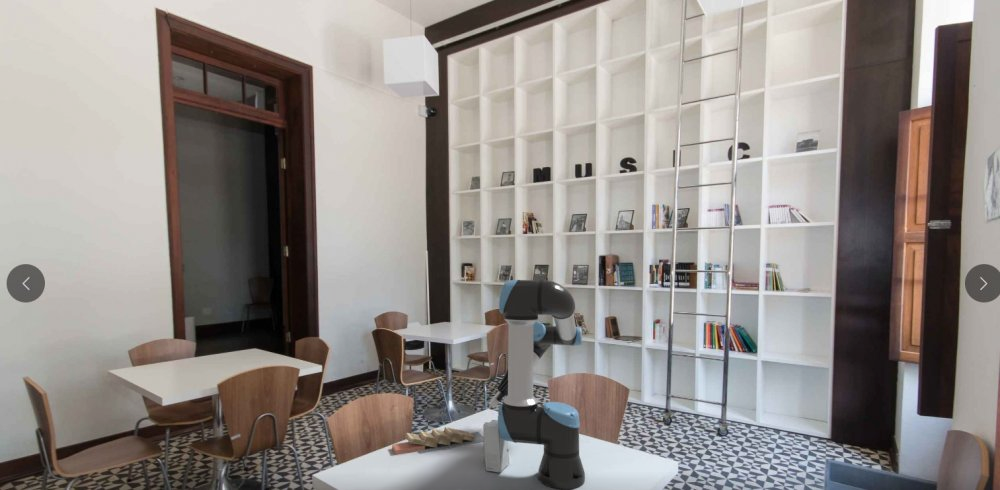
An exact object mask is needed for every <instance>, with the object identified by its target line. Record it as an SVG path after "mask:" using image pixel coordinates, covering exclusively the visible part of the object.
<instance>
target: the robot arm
mask: <svg viewBox="0 0 1000 490" xmlns="http://www.w3.org/2000/svg"><path fill="white" fill-rule="evenodd" d="M498 308H499V313H500V314H502V315H504V317H503V319H504V321H505V323H507V325H508V338H507V340H508V347H507V348H508V349H507V351H508V354H507V356H508V357H507V359H508V360H507V363H508V365H507V366H508V367H507V370H506V371H505V374H504V375H503V378H502V379H501V381H500V383H499V384H498V385H497V387H496V389H497V392H496V394H495V395H494V396H493V397H492V398H491V400H490V401H489V402H488V405H489V406H490V407H491V408H492V409H495V408H496V407H497V406H498V405H499V403H500V402H501V401H502V400H503V402H502V403H500V405H499V406H498V410H497V420H498V427H499V432H500V435H501V437H502V438H503V439H504V440H505V441H508V442H511V443H515V444H519V443H520V444H521V443H522V444H530V445H542V446H543V454H542V458H541V461H540V463H539V466H538V473H537V474H538V475H537V476H538V477H537V478H538V480H539V481H540V483H542V484H543V485H545V486H547V487H550V488H553V489H559V490H571V489H576V488H579V487H581V486H583V484H584V483H585V480H586V474H585V468H584V465H583V463H582V459H581V456H580V427H581V424H580V414H579V411H578V410H577V409H576V408H575V407H574V406H571V405H570V404H567V403H564V402H559V401H558V402H557V401H548V402H545V403H544V404H543V406H539V405H538V403H539V402H538V399H537V398H536V397H535V396H534V367H535V366H536V364H537V363H538V362H539V360H540V359H541V358H542V357H543V356H544V354H545V353H546V352H547V350H548V349H549V348H550V347H551V346H552V345H554V346H555V345H556V346H571V347H574V346H581V345H582V342H583V330H582V327H580V326H577V325H576V321H575V315H574V314H575V310H576V302H575V299H574V296H573V295H572V293H571V292H570V291H569V290H568V289H566V288H565V287H564V286H562V285H561V284H559V283H557V282H555V281H552V280H545V279H543V280H539V279H538V280H535V279H534V280H533V279H531V280H530V279H528V280H527V279H512V280H506V281H505V282H504V284H503V285H502V288H501V291H500V295H499V302H498ZM539 315H541V316H543V315H544V316H545V315H546V316H547V315H548V316H551V317H552V319H553V321H554V324H555V326H554V325H545V324H543V323H542V322H540V321H539ZM505 396H506V397H505ZM504 397H505V398H504ZM503 398H504V399H503Z"/></svg>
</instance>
